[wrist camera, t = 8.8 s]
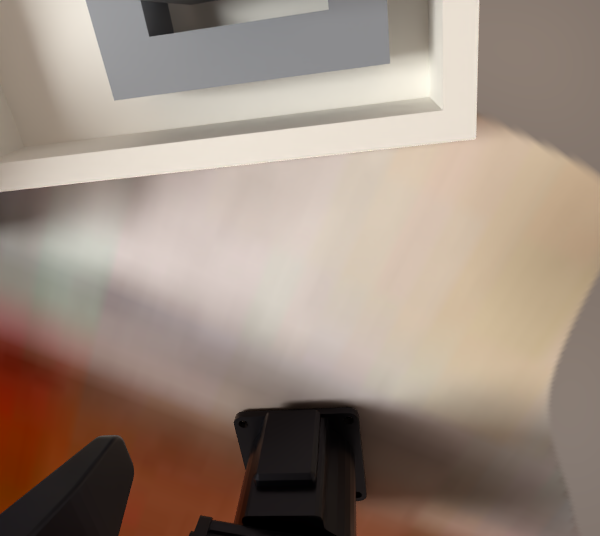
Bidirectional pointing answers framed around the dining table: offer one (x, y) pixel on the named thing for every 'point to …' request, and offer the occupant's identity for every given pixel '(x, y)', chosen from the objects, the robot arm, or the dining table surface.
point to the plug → (181, 1)
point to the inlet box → (226, 83)
